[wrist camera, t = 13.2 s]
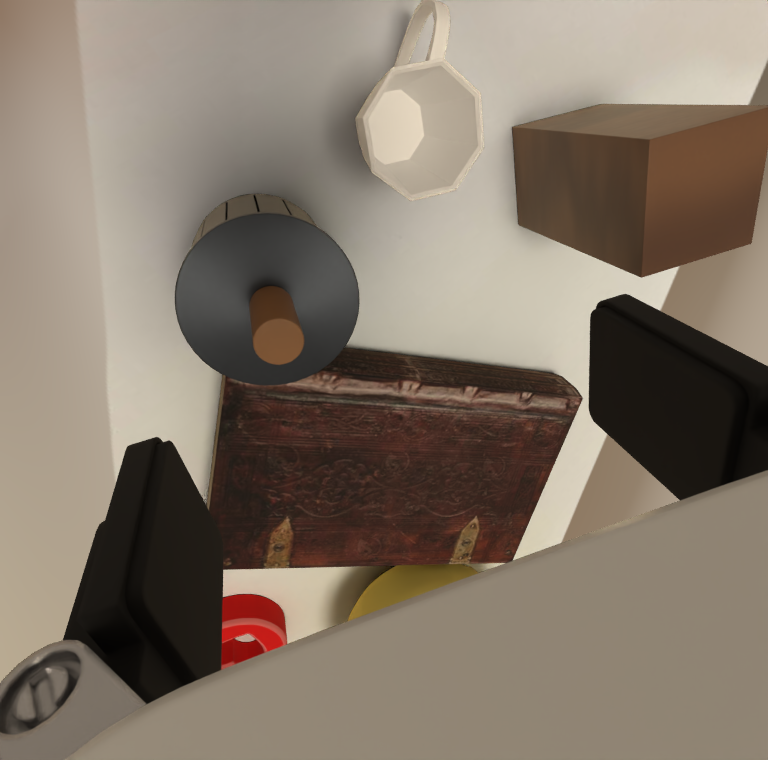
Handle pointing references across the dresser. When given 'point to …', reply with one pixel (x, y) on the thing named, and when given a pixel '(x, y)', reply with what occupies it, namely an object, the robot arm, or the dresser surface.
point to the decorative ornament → (250, 627)
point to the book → (385, 462)
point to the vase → (407, 585)
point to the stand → (643, 181)
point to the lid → (266, 298)
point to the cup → (422, 116)
